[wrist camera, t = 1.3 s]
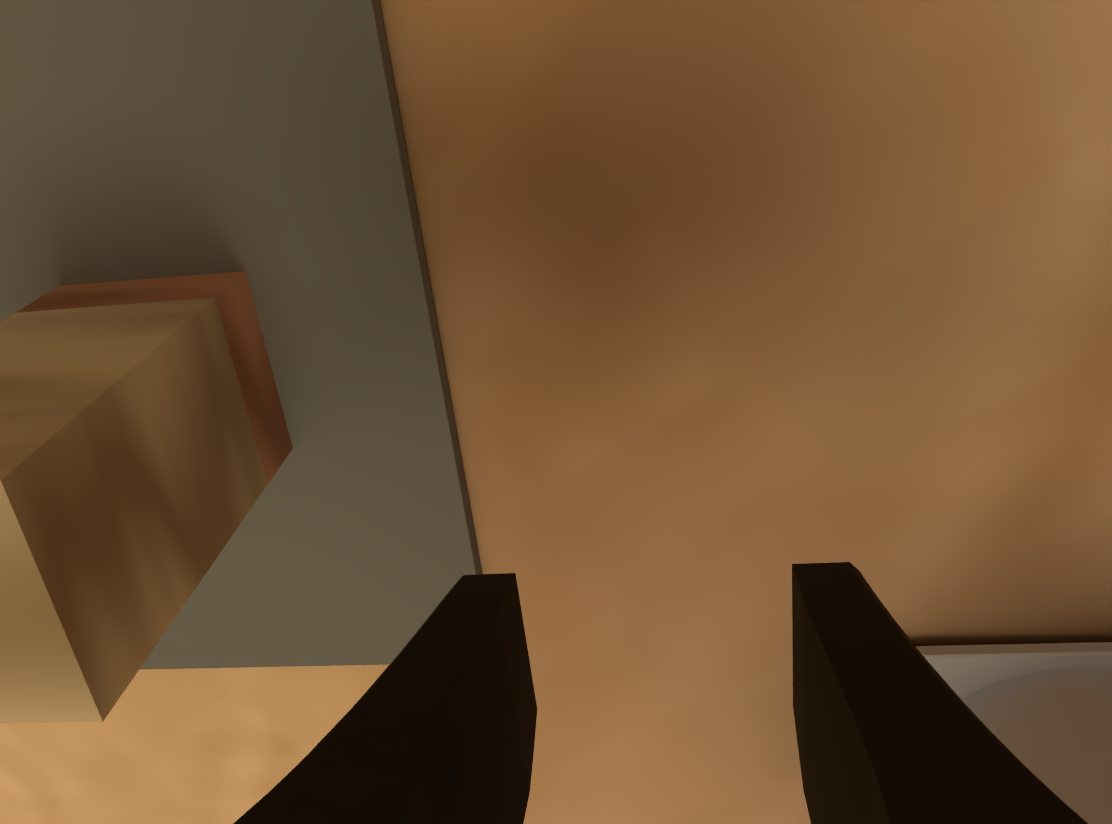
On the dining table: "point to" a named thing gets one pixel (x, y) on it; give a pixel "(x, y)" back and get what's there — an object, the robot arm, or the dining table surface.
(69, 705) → the maple block
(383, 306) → the rubber mat
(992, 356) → the dining table surface
